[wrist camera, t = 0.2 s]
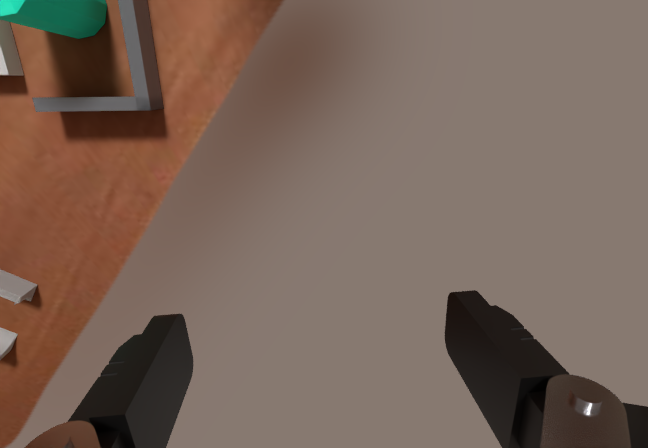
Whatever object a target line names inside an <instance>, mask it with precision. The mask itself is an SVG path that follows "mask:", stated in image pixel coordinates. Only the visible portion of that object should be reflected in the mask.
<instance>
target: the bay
mask: <svg viewBox="0 0 648 448" xmlns="http://www.w3.org/2000/svg"><path fill="white" fill-rule="evenodd" d="M118 3H119V9H120V14H121V20H122V26H123V31H124V37H125V43H126V48H127V54H128V59H129V65H130V71H131V76H132V82H133V88H134V93H135V97H45V98H33V102H34V106H35V110H36V112H48V111H134V110H157V109H164V107H163V101H162V94H161V88H160V81H159V75H158V68H157V62H156V55H155V49H154V42H153V36H152V29H151V22H150V16H149V9H148V3H147V0H118Z"/></svg>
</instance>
